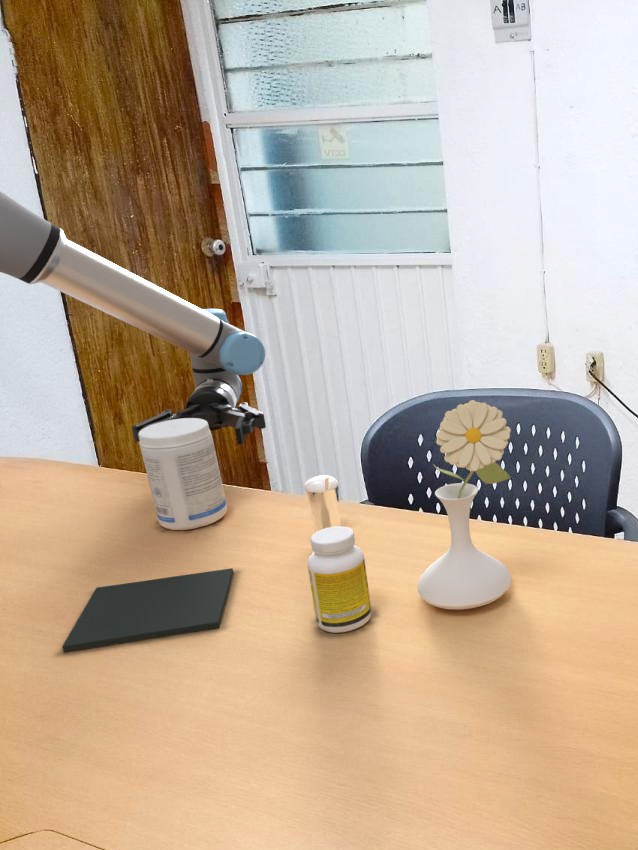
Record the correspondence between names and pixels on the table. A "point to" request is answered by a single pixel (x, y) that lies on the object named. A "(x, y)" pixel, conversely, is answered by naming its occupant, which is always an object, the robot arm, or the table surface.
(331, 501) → the milkshake
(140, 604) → the mat
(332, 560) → the pill bottle
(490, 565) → the flower in vase
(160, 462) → the supplement tub
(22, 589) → the table surface
